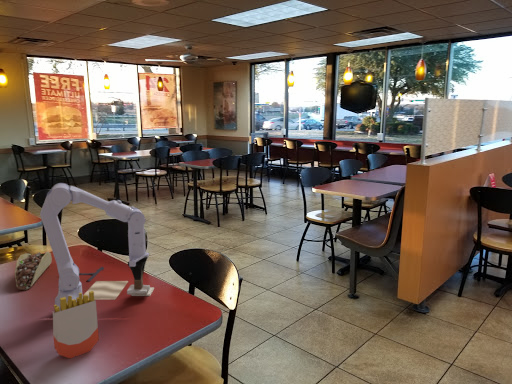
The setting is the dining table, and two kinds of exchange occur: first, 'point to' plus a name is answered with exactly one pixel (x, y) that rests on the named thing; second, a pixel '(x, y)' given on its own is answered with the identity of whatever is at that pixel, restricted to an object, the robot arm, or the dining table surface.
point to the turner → (138, 287)
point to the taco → (30, 268)
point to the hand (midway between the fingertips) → (138, 277)
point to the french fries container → (75, 325)
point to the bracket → (92, 274)
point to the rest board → (106, 289)
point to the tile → (147, 293)
